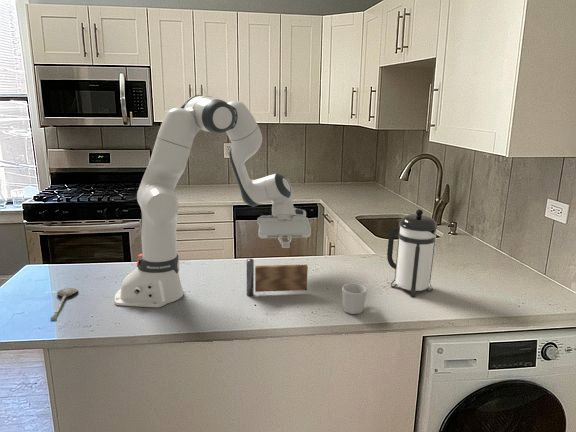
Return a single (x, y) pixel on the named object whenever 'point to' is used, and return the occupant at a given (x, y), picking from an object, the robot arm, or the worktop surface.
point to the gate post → (250, 277)
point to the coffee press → (413, 252)
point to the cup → (353, 298)
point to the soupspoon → (63, 298)
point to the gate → (281, 278)
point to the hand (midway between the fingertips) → (285, 247)
